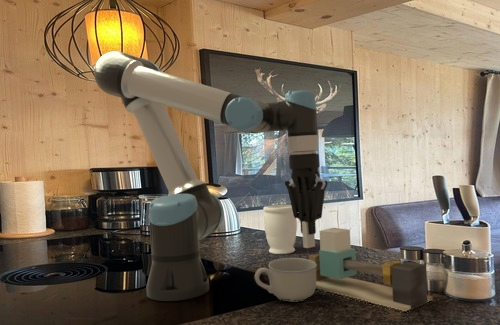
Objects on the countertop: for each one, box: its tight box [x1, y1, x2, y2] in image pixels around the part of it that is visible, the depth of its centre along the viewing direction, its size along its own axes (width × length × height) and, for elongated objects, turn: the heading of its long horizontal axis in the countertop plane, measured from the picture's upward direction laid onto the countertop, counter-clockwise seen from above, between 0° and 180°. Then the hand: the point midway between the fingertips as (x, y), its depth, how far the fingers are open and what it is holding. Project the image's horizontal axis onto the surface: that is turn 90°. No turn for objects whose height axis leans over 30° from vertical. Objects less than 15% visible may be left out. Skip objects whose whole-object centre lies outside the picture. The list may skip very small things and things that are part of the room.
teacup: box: [254, 257, 317, 301], centre depth 105 cm, size 14×11×8 cm
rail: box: [308, 252, 434, 311], centre depth 105 cm, size 10×28×8 cm, turn 38°
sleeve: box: [318, 227, 358, 280], centre depth 111 cm, size 6×6×10 cm
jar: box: [263, 203, 298, 255], centre depth 153 cm, size 11×10×15 cm
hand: (309, 246), depth 118 cm, fingers closed
